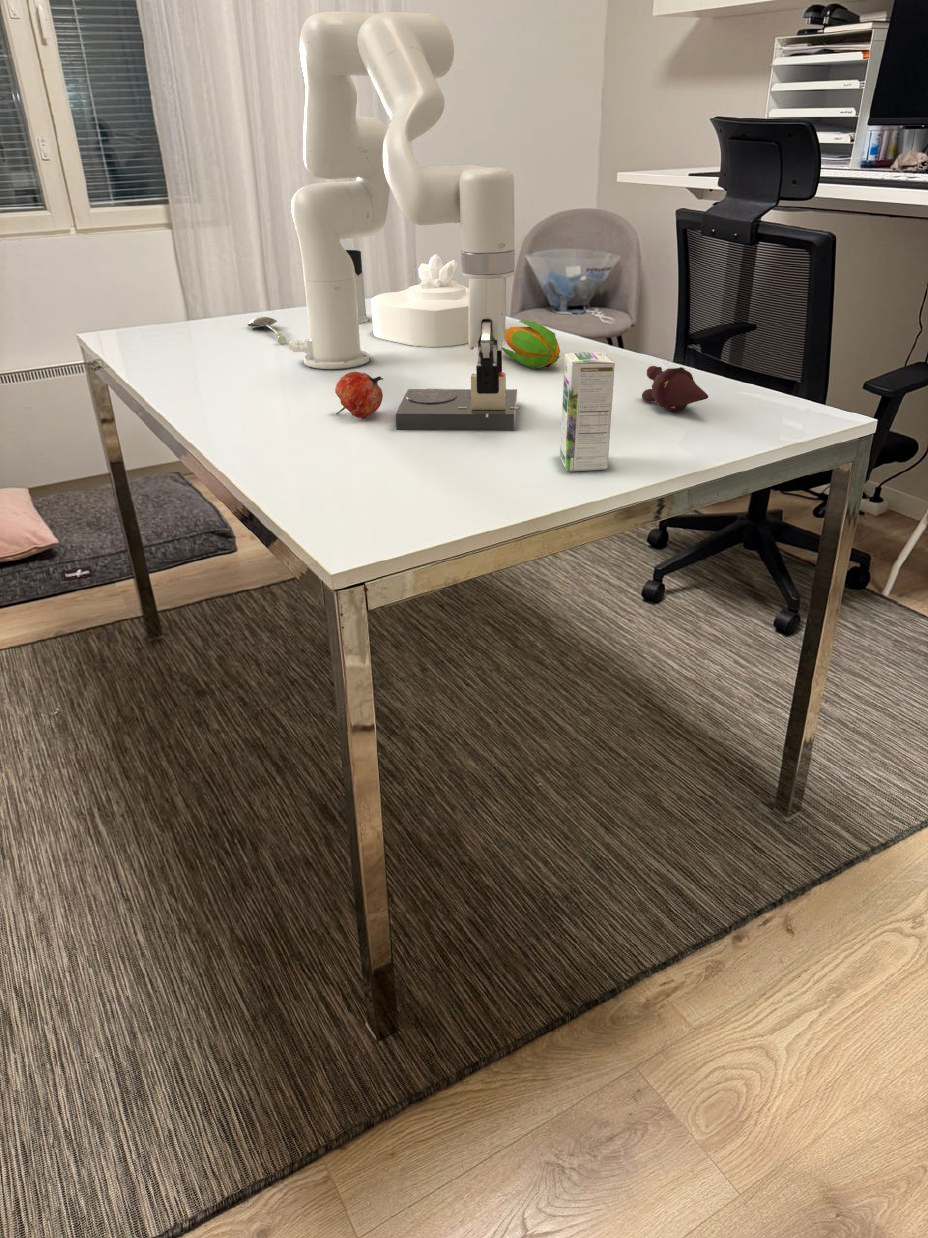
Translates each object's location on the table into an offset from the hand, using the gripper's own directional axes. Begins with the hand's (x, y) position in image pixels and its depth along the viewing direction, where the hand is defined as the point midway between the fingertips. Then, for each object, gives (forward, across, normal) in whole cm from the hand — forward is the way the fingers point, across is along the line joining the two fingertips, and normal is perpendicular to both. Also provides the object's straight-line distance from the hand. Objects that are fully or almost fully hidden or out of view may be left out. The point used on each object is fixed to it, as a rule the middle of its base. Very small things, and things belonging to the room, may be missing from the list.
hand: (489, 384), depth 139 cm
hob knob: (+4, 0, 0) cm, 4 cm away
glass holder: (+5, -83, -37) cm, 91 cm away
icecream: (+7, -8, +29) cm, 31 cm away
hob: (+6, -4, -5) cm, 9 cm away
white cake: (+6, -67, -15) cm, 69 cm away
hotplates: (+4, -7, -6) cm, 10 cm away
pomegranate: (+6, -4, -21) cm, 23 cm away
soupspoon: (+5, -65, -52) cm, 84 cm away
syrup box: (+7, +18, +14) cm, 23 cm away
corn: (+6, -40, +5) cm, 41 cm away
